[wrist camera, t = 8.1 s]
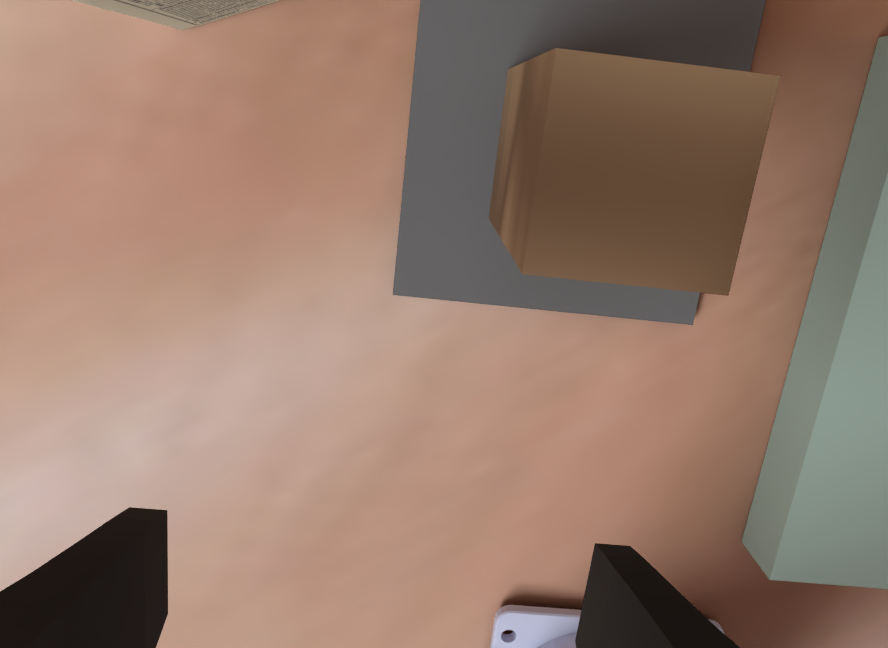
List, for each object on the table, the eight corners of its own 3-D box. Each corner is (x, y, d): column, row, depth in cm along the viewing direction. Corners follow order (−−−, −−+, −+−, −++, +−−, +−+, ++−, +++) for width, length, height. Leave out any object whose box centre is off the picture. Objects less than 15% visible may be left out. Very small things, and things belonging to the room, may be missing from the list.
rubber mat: (688, 321, 21) (692, 325, 21) (393, 291, 21) (392, 294, 20) (759, 1, 19) (766, -2, 18) (424, -43, 18) (424, -46, 18)
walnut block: (626, 233, 20) (728, 295, 13) (488, 218, 20) (522, 274, 13) (654, 87, 19) (780, 75, 12) (508, 69, 19) (555, 47, 12)
